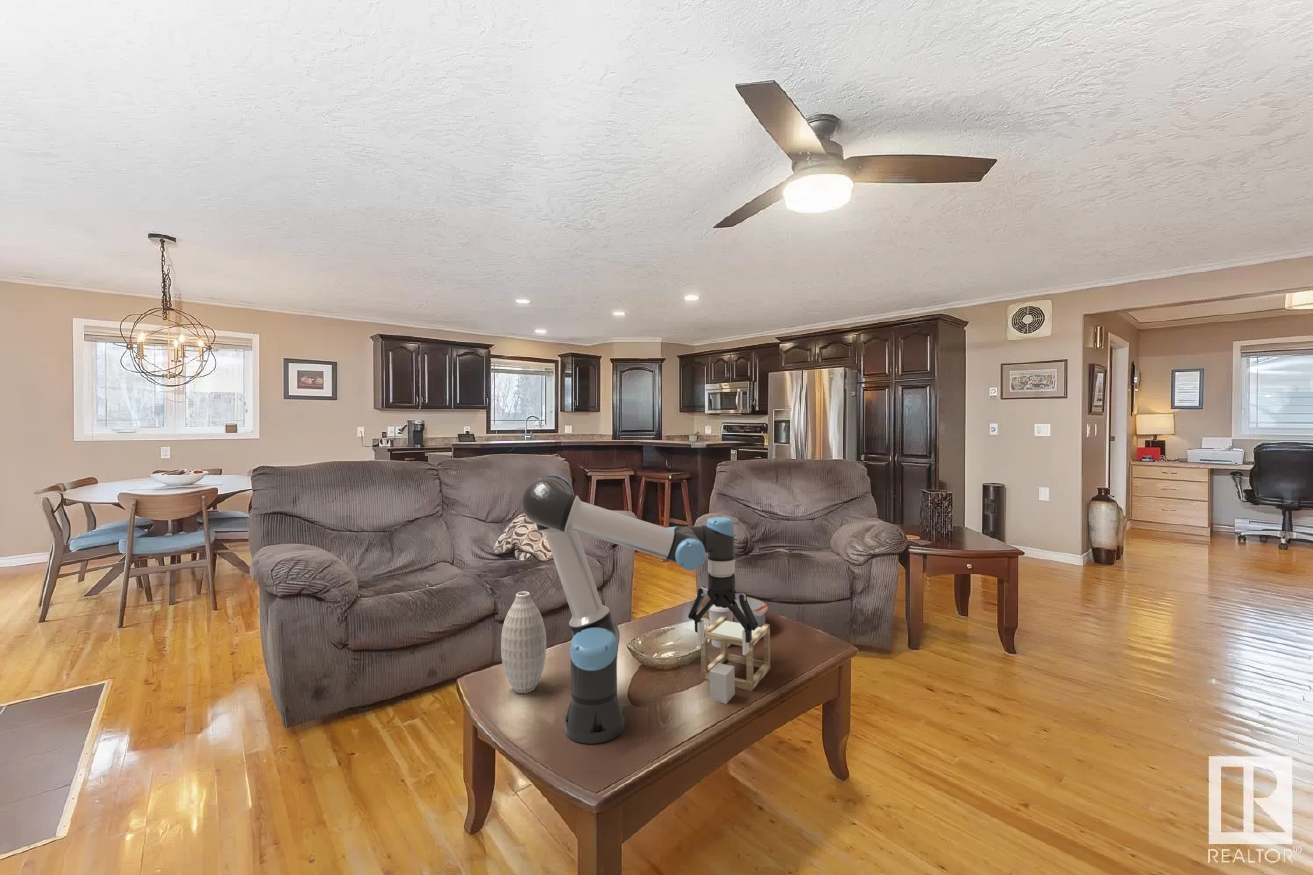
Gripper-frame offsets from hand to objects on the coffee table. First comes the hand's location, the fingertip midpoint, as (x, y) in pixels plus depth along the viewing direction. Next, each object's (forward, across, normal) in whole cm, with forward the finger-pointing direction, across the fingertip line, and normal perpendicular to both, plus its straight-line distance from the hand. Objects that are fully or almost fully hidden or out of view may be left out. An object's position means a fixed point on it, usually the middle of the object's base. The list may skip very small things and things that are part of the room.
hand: (722, 648), depth 155 cm
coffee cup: (+14, +15, -33) cm, 39 cm away
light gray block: (+14, 0, 0) cm, 14 cm away
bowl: (+14, +17, -50) cm, 55 cm away
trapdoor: (+3, +2, -19) cm, 19 cm away
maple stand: (+14, +2, -15) cm, 20 cm away
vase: (+13, +52, +24) cm, 59 cm away
